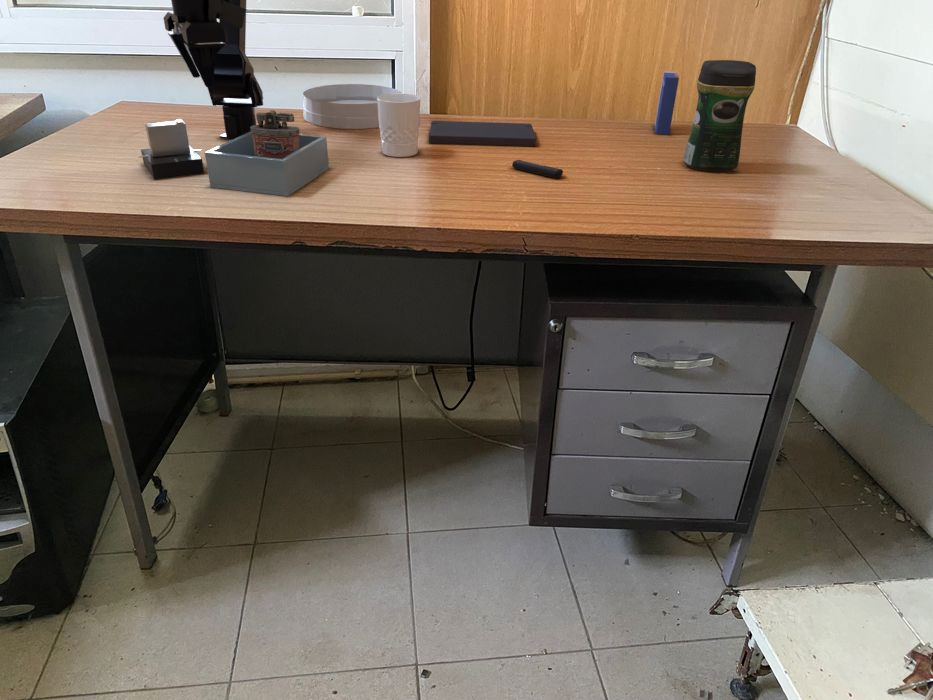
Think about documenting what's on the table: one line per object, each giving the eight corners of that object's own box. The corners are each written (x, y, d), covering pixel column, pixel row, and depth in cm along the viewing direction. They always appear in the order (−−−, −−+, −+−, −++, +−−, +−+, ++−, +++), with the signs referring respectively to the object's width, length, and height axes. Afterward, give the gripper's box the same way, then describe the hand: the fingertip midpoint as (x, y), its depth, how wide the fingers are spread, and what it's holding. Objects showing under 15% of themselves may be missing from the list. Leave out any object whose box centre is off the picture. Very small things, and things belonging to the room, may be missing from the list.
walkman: (669, 135, 151) (679, 76, 144) (656, 134, 151) (665, 75, 145) (667, 126, 157) (677, 69, 151) (654, 125, 158) (663, 69, 152)
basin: (258, 161, 125) (254, 129, 122) (328, 168, 122) (326, 136, 120) (210, 187, 112) (204, 152, 109) (287, 196, 109) (284, 160, 107)
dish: (363, 102, 170) (362, 80, 167) (424, 119, 157) (424, 95, 154) (284, 114, 156) (281, 91, 154) (342, 134, 143) (341, 109, 140)
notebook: (428, 143, 139) (535, 146, 139) (428, 135, 138) (536, 138, 138) (431, 127, 150) (530, 131, 150) (431, 120, 149) (531, 123, 149)
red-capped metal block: (153, 157, 116) (146, 125, 114) (150, 153, 118) (144, 122, 116) (190, 153, 119) (185, 121, 116) (187, 149, 121) (182, 118, 118)
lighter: (252, 174, 117) (244, 112, 111) (260, 168, 119) (252, 107, 114) (299, 177, 116) (293, 115, 111) (306, 171, 119) (300, 110, 114)
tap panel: (136, 164, 121) (133, 148, 120) (197, 157, 126) (194, 142, 125) (147, 180, 114) (143, 164, 113) (211, 172, 119) (208, 157, 117)
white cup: (414, 159, 129) (413, 103, 124) (373, 156, 130) (371, 100, 125) (425, 148, 135) (425, 95, 130) (386, 145, 137) (384, 92, 131)
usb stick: (564, 176, 123) (565, 167, 122) (556, 180, 121) (557, 171, 120) (518, 166, 127) (519, 157, 126) (510, 169, 125) (511, 160, 125)
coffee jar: (729, 161, 134) (752, 57, 124) (740, 174, 127) (766, 65, 117) (678, 159, 134) (697, 55, 125) (687, 171, 127) (707, 62, 118)
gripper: (254, -18, 108) (265, 88, 116) (223, -25, 122) (235, 70, 130) (178, -17, 103) (196, 93, 111) (155, -25, 117) (172, 74, 125)
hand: (202, 82), depth 119 cm, fingers open, 9 cm apart
